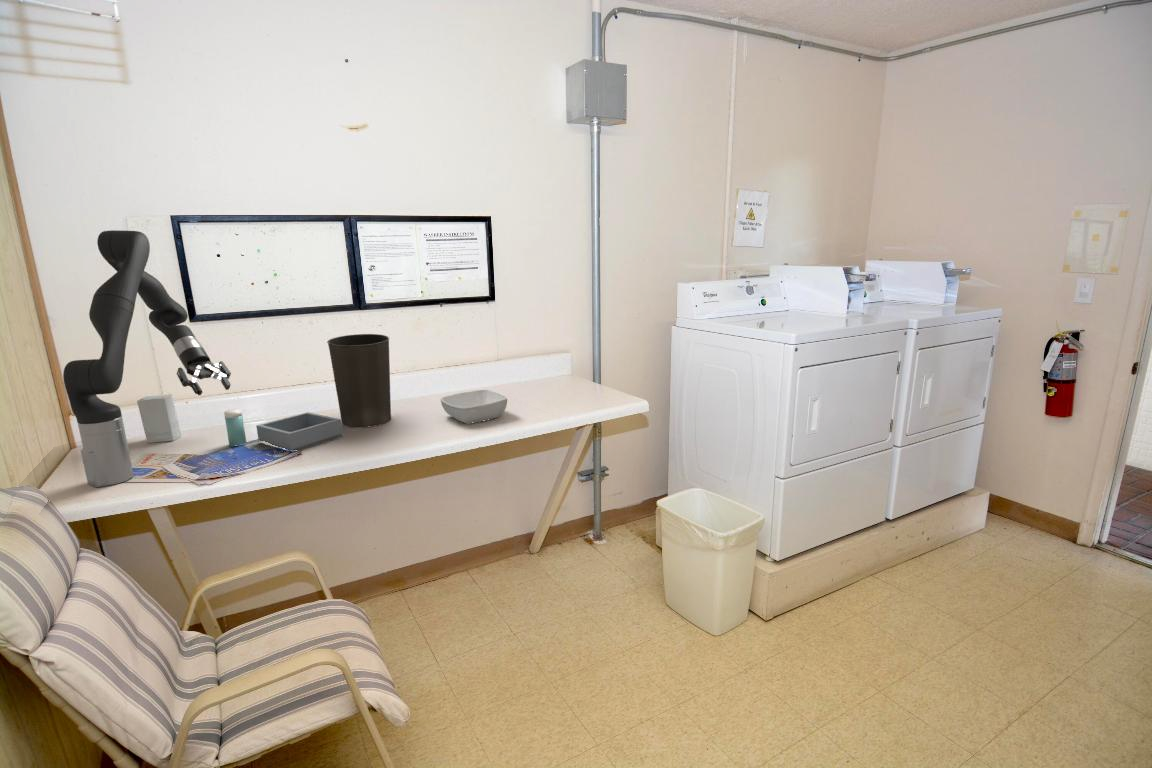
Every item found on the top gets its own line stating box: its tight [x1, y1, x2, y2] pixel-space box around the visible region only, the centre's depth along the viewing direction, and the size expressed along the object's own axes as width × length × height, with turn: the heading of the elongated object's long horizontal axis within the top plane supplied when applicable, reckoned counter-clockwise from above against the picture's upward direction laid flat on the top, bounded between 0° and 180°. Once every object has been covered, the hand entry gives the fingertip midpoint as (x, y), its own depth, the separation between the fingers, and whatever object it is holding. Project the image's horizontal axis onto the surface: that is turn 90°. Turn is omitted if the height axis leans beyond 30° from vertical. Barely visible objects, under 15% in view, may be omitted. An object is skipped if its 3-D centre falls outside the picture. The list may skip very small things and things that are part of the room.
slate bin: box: [256, 411, 343, 451], centre depth 188 cm, size 18×18×6 cm
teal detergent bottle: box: [223, 408, 247, 447], centre depth 184 cm, size 5×5×11 cm
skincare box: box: [136, 393, 182, 444], centre depth 190 cm, size 8×6×15 cm
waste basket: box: [327, 333, 392, 428], centre depth 205 cm, size 27×20×30 cm
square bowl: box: [440, 389, 508, 424], centre depth 210 cm, size 20×20×8 cm
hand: (214, 390), depth 187 cm, fingers open, 8 cm apart
